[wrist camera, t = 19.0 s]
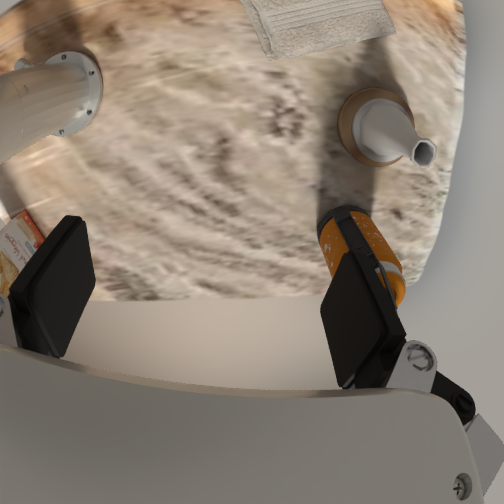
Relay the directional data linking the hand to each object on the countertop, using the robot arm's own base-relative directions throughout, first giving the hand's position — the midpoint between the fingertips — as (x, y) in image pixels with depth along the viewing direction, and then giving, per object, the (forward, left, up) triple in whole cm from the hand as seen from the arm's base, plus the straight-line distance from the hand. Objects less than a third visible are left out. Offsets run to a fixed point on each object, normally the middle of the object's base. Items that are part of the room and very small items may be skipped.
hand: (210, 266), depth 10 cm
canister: (+23, -2, -31) cm, 38 cm away
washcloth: (-2, +19, -31) cm, 36 cm away
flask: (+15, +12, -27) cm, 33 cm away
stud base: (+15, +12, -30) cm, 36 cm away
